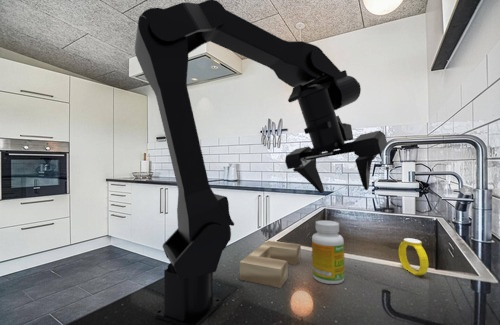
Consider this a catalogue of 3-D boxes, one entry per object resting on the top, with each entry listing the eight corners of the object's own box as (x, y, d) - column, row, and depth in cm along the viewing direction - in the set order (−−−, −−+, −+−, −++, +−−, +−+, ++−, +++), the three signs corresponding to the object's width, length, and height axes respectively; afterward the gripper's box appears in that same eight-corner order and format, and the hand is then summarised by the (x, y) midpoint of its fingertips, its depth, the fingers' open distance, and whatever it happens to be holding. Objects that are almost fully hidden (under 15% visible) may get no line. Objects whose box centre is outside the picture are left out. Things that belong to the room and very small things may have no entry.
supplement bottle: (339, 288, 38) (337, 227, 39) (307, 279, 42) (306, 223, 42) (348, 276, 43) (347, 221, 43) (319, 269, 46) (318, 218, 46)
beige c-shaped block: (280, 288, 39) (280, 269, 39) (239, 279, 42) (239, 262, 42) (300, 258, 51) (300, 244, 51) (268, 253, 54) (268, 240, 55)
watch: (432, 280, 42) (433, 246, 41) (417, 280, 42) (417, 247, 41) (408, 264, 48) (408, 234, 47) (394, 264, 48) (395, 235, 47)
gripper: (382, 93, 45) (402, 169, 48) (298, 120, 58) (317, 179, 60) (366, 105, 37) (392, 195, 40) (273, 133, 50) (297, 200, 52)
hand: (343, 190), depth 48 cm, fingers open, 9 cm apart
